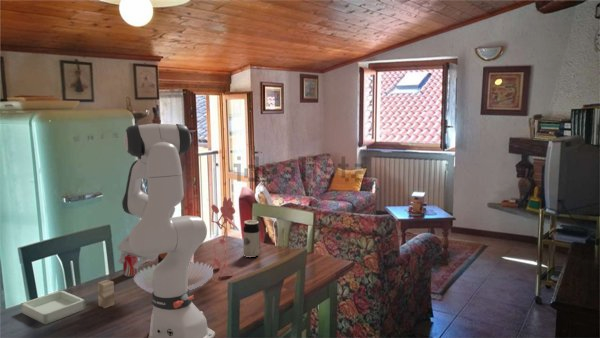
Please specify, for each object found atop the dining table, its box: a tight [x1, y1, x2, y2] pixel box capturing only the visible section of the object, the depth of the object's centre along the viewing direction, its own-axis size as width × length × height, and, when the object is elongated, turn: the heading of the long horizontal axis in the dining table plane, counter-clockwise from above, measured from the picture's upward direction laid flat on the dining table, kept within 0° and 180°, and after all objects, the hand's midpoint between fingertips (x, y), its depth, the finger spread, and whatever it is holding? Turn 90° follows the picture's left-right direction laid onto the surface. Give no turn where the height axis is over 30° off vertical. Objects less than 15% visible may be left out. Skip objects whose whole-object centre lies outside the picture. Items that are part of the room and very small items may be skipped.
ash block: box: [97, 279, 115, 309], centre depth 172 cm, size 4×4×9 cm
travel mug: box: [242, 219, 260, 256], centre depth 231 cm, size 8×8×18 cm
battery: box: [157, 252, 168, 265], centre depth 212 cm, size 4×7×10 cm, turn 35°
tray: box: [20, 289, 87, 325], centre depth 166 cm, size 16×15×4 cm
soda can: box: [122, 255, 139, 278], centre depth 202 cm, size 6×6×12 cm
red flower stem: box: [211, 196, 239, 282], centre depth 208 cm, size 15×26×35 cm, turn 35°
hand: (127, 265), depth 179 cm, fingers open, 8 cm apart
